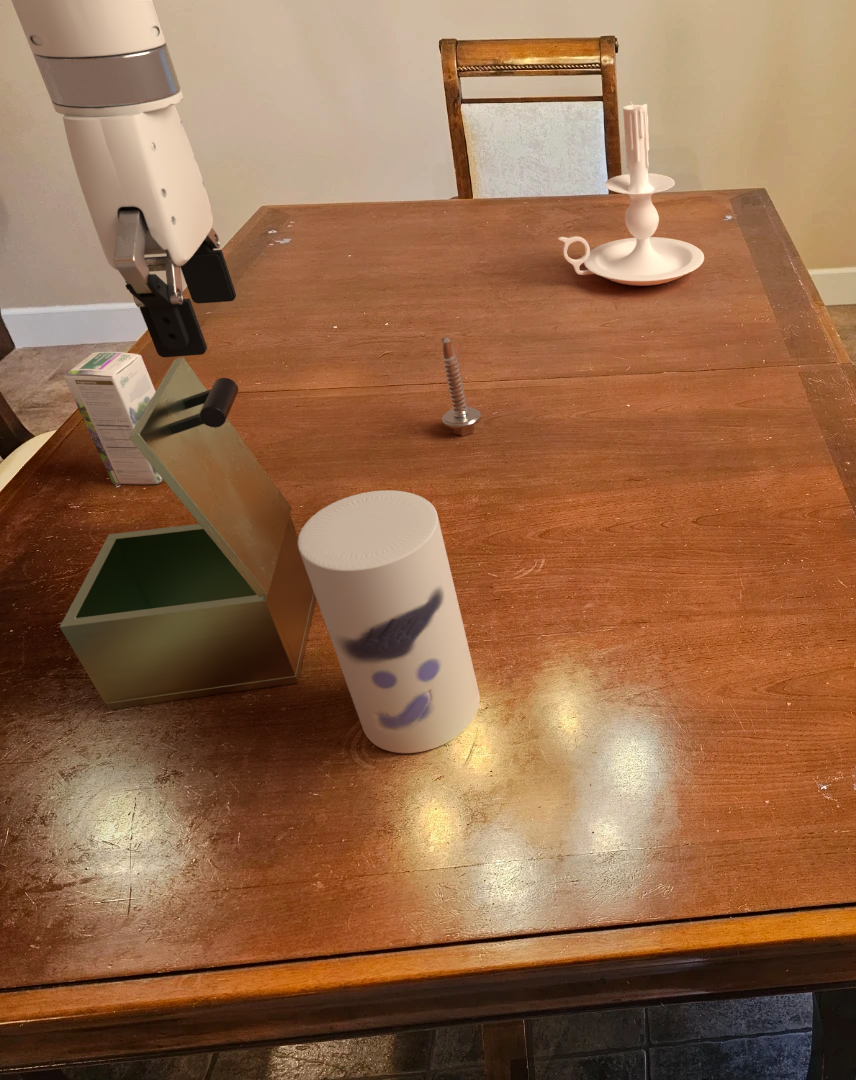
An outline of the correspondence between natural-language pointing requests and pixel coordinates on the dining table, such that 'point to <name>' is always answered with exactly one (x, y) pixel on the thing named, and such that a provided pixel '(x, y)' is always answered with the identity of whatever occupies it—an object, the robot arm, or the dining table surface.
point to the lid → (214, 471)
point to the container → (393, 617)
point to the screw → (457, 396)
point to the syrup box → (114, 411)
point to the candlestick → (638, 222)
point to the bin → (186, 619)
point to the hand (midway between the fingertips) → (200, 326)
